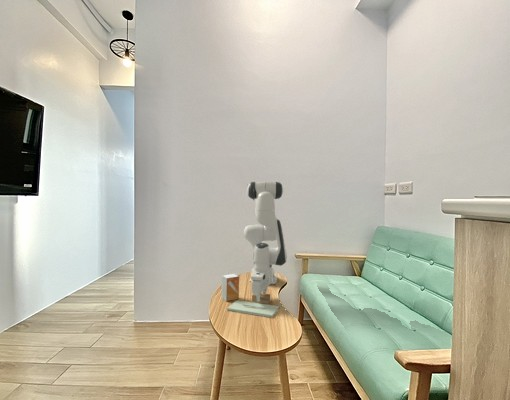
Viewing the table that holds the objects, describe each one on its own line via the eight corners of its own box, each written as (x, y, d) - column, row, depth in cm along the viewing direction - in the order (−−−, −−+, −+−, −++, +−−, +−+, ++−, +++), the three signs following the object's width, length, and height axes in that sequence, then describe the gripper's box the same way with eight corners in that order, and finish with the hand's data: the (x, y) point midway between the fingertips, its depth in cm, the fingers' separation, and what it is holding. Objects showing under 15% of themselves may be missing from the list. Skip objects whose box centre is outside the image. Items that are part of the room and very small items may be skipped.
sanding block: (254, 299, 167) (254, 292, 166) (270, 301, 164) (270, 294, 164) (252, 302, 162) (252, 295, 162) (267, 304, 159) (267, 297, 159)
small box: (226, 301, 162) (226, 278, 162) (221, 298, 168) (221, 275, 167) (239, 298, 167) (239, 276, 167) (233, 295, 172) (233, 273, 172)
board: (236, 302, 161) (236, 299, 161) (279, 308, 153) (279, 306, 153) (227, 310, 150) (227, 307, 150) (272, 317, 142) (272, 315, 142)
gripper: (262, 268, 173) (262, 291, 173) (249, 277, 154) (249, 303, 154) (272, 269, 171) (272, 293, 171) (261, 278, 152) (261, 305, 152)
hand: (261, 298), depth 162 cm, fingers open, 8 cm apart
